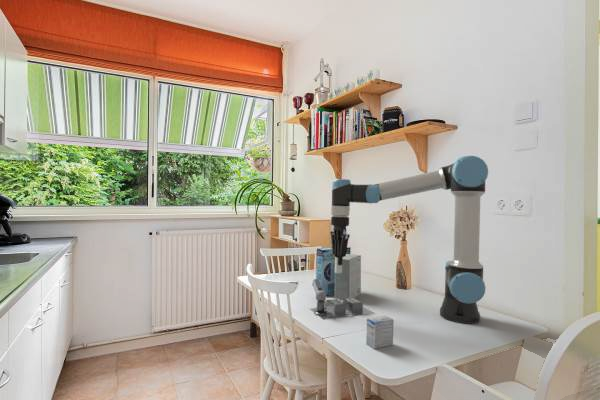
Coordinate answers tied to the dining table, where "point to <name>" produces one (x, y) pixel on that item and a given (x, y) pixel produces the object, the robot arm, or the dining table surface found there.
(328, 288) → the blue printed carton
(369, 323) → the medicine box
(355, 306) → the block
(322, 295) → the cable arm
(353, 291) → the hard drive box
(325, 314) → the server tray
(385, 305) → the dining table surface
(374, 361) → the dining table surface
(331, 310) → the power supply block
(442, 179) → the robot arm
